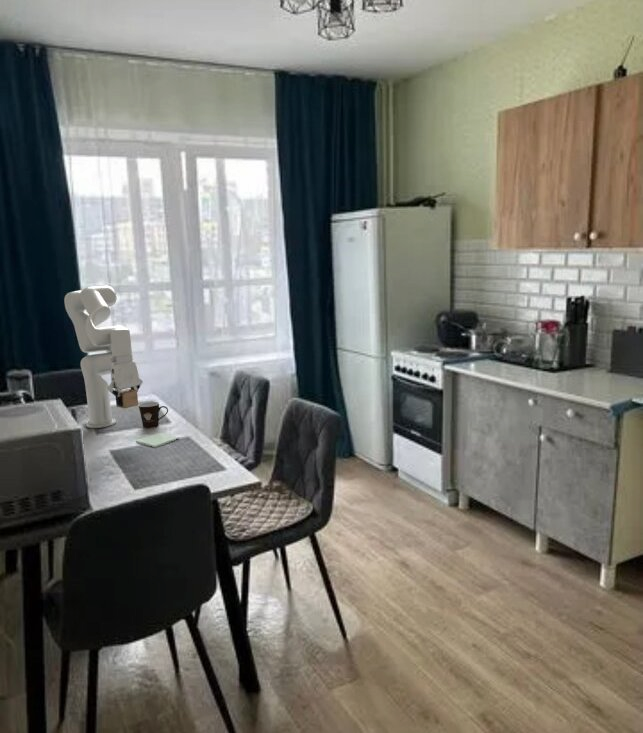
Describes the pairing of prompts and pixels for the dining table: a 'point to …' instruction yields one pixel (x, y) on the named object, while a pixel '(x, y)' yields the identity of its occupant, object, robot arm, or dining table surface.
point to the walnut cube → (129, 398)
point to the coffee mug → (150, 414)
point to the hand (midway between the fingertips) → (127, 403)
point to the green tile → (157, 439)
